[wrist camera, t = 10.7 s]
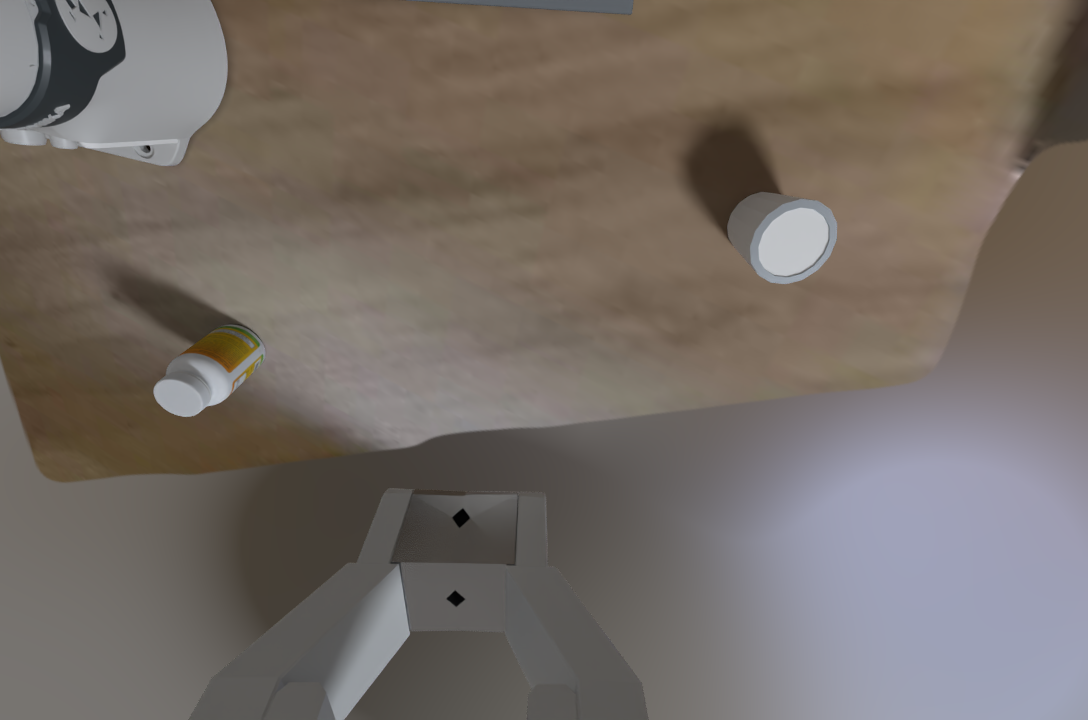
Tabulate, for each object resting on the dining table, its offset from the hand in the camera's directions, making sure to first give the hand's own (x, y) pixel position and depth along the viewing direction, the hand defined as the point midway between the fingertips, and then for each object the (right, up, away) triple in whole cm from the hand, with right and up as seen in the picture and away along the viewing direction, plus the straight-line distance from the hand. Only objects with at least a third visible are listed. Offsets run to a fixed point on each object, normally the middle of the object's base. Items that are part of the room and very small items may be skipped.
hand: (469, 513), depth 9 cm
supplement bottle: (-30, +5, +40) cm, 50 cm away
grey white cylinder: (+21, +16, +34) cm, 43 cm away
